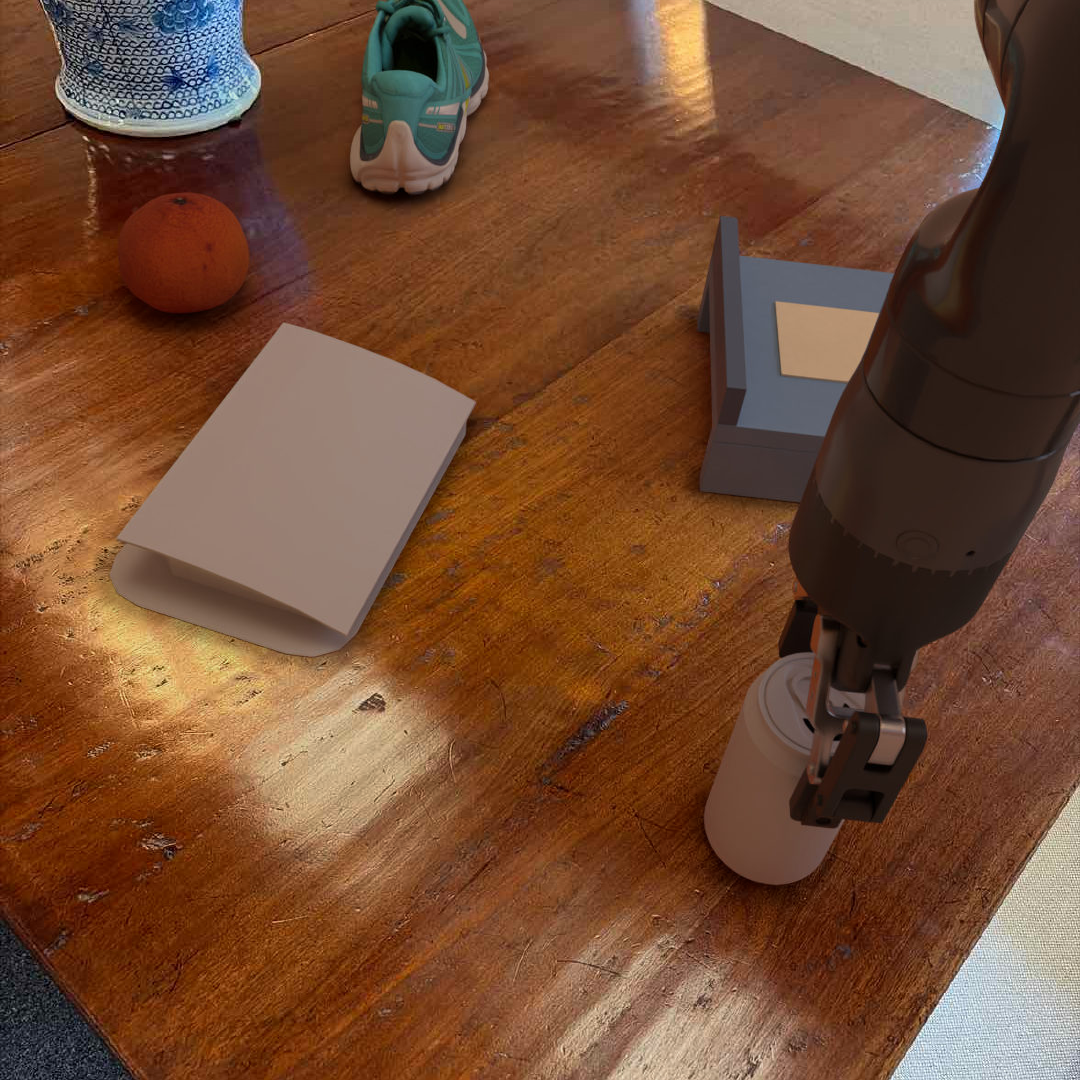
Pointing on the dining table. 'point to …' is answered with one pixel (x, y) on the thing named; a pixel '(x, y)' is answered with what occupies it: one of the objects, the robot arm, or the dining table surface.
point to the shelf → (778, 363)
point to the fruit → (183, 253)
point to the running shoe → (417, 94)
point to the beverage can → (770, 779)
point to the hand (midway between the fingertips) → (805, 731)
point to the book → (294, 496)
